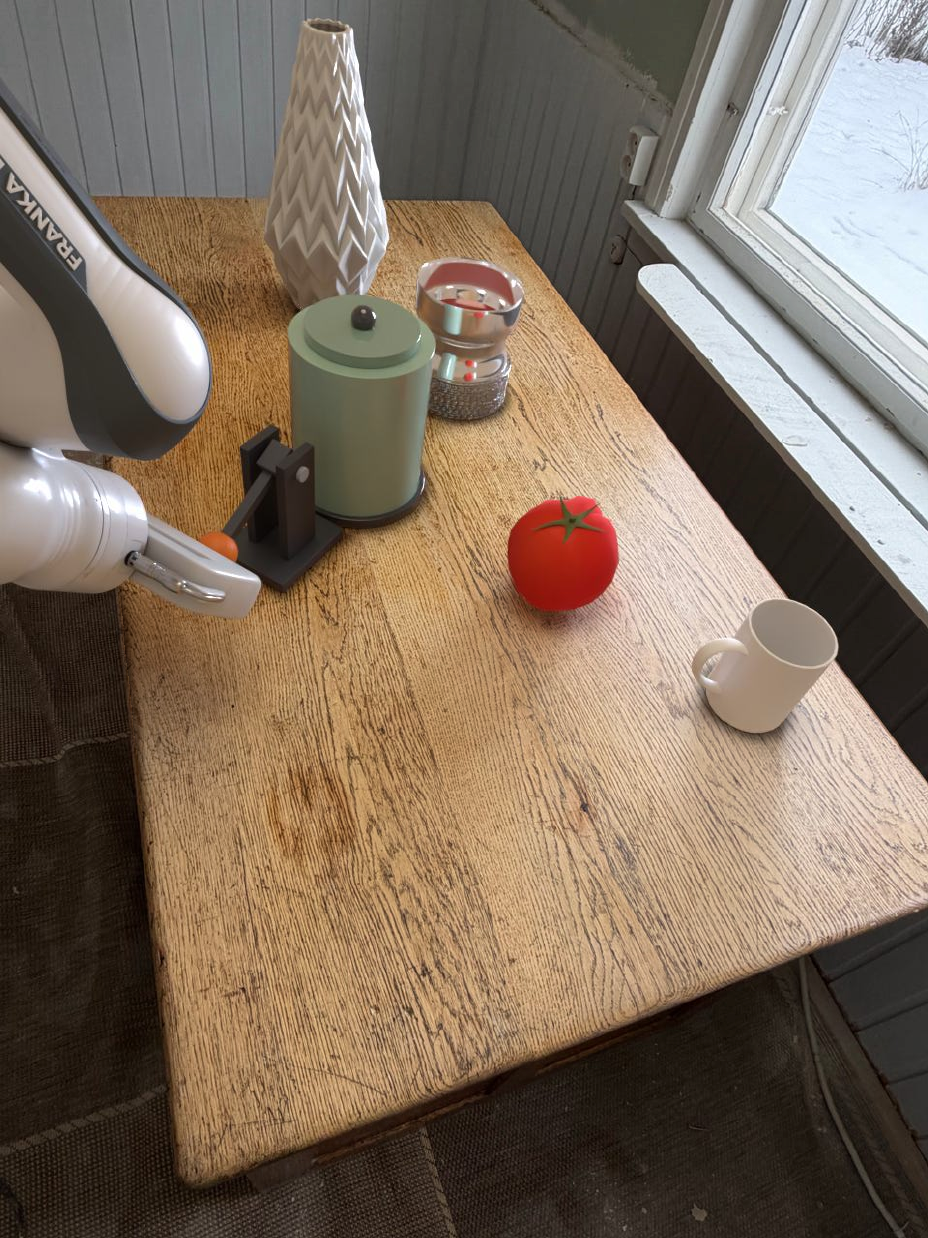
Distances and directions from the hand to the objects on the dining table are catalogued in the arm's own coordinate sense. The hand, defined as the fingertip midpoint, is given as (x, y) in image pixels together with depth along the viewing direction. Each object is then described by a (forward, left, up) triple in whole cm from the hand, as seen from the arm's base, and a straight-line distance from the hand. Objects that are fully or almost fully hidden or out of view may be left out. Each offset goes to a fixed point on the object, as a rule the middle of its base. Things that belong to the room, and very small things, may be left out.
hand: (193, 549), depth 67 cm
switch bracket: (+6, +9, -8) cm, 14 cm away
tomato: (+34, +7, -8) cm, 36 cm away
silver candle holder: (+23, +43, -8) cm, 50 cm away
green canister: (+12, +21, -8) cm, 25 cm away
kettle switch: (+4, +6, -1) cm, 7 cm away
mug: (+50, -6, -8) cm, 51 cm away
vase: (+5, +58, -8) cm, 59 cm away
